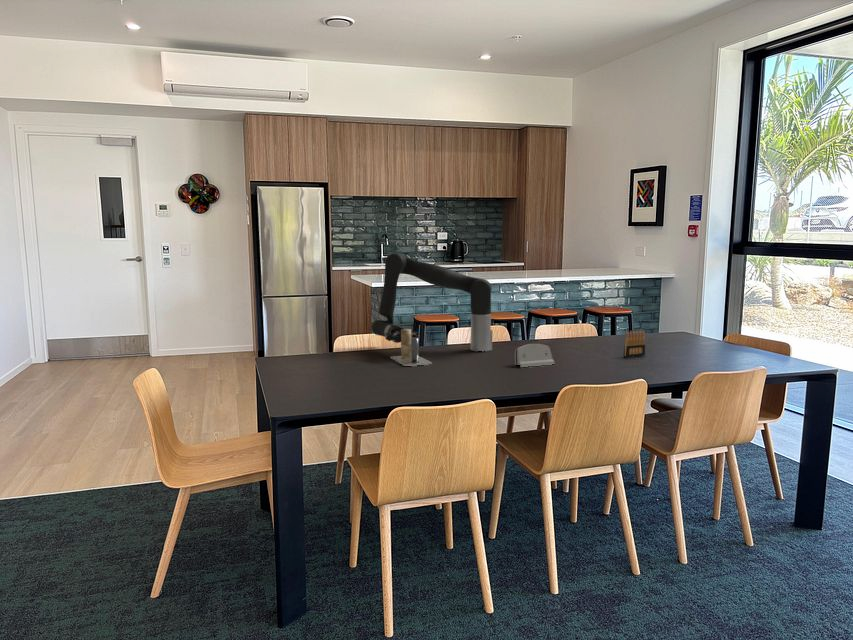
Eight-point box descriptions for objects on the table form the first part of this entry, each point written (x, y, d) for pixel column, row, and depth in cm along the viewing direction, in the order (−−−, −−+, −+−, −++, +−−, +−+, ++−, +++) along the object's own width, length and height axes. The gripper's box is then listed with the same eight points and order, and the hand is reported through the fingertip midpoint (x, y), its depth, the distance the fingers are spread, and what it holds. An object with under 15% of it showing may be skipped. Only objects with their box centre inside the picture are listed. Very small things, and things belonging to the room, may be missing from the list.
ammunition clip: (626, 357, 276) (627, 330, 275) (623, 356, 278) (624, 330, 276) (645, 355, 280) (646, 329, 279) (642, 355, 282) (643, 328, 280)
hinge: (520, 368, 254) (516, 344, 256) (515, 369, 259) (511, 346, 260) (555, 365, 260) (552, 341, 262) (549, 366, 264) (546, 343, 266)
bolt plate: (415, 356, 277) (415, 332, 275) (431, 364, 260) (432, 338, 259) (390, 358, 272) (390, 334, 270) (405, 367, 256) (405, 340, 254)
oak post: (409, 355, 273) (409, 328, 272) (412, 357, 269) (412, 330, 268) (399, 356, 272) (399, 329, 270) (403, 358, 268) (403, 331, 266)
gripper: (379, 325, 279) (392, 331, 264) (409, 323, 285) (423, 329, 270) (380, 342, 280) (392, 348, 265) (409, 340, 286) (423, 346, 271)
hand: (407, 338), depth 268 cm, fingers open, 8 cm apart
